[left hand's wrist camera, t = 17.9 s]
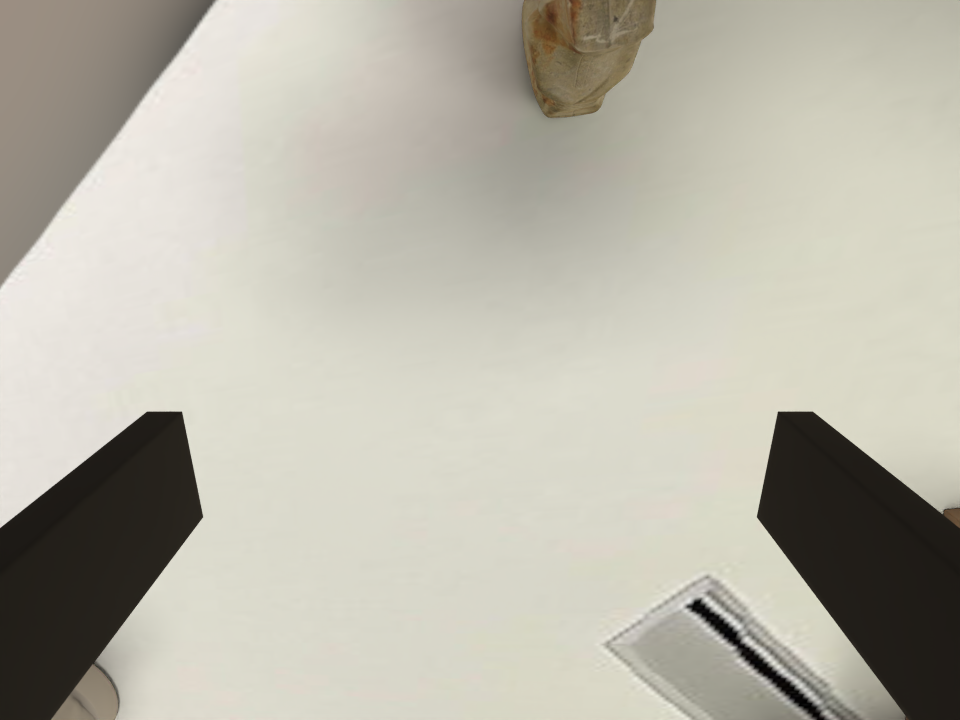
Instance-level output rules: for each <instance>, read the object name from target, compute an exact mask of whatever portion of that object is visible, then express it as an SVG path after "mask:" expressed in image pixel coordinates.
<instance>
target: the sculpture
mask: <svg viewBox="0 0 960 720" xmlns="http://www.w3.org/2000/svg"><path fill="white" fill-rule="evenodd" d="M655 5H656V0H524V4H523V10H522V31H523V43H524V49H525V54H526V60H527V65H528V70H529V75H530V79H531V83H532V87H533V91H534V94H535V97H536V99H537V102H538V104H539V106H540V108H541V110H542V112H543V113H544V114H545V116H547V117H550V118H557V117H571V116H578V115H584V114H590V113H594V112H596V111H597V110H598V109H599V108H600V107H601V105H602V102H603V99H604V96H605V93H607V92H608V91H609V90H610V89H611V88H612V87H614V86H615V85H616V84H617V83H618V82H620V81H621V80H622V79H623V78H624V77H625V76H626V75H627V74H628V73H629V71H630V69H631V68H632V65H633V63H634V60H635V57H636V54H637V52H638V49H639V46H640V43H641V40H642V39H644V38H645V37H646V36H648V35H649V34H650V33H651V32H652V30H653V28H654V25H653V21H654V13H655Z"/></svg>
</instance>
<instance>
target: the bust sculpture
mask: <svg viewBox="0 0 960 720" xmlns="http://www.w3.org/2000/svg"><path fill="white" fill-rule="evenodd" d="M117 711H118V699H117V695H116V692H115V690H114V687H113V686H112V684H111V682H110V681H109V679H108V678H107V677H106V676H105V675H104V674H103V673H102V672H101V671H100V670H99V669H98V668H97V667H96V666H95V665H92V666H91V667H90V669H89V670H88V671H87V673H86V674H85V675H84V677H83V678H82V679H81V680H80V682H79V683H78V684H77V686H76V687H75V688H74V690H73V691H72V692H71V694H70V695H69V696H68V698H67V699H66V700H65V702H64V703H63V704H62V706H61V707H60V708H59V710H58V711H57V712H56V714H55V715H54V716H53V718H52V719H51V720H115V718H116V715H117Z"/></svg>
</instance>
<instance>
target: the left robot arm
mask: <svg viewBox="0 0 960 720" xmlns="http://www.w3.org/2000/svg"><path fill="white" fill-rule="evenodd" d="M202 518H203V514H202V509H201V504H200V499H199V494H198V489H197V484H196V479H195V474H194V469H193V464H192V459H191V454H190V449H189V444H188V439H187V434H186V429H185V424H184V419H183V414H182V412H146V413H145V414H144V415H142V416H141V417H140V418H139V419H137V420H136V421H135V422H134V423H132V424H131V425H130V426H128V427H127V428H126V429H125V430H123V431H122V432H121V433H120V434H118V435H117V436H116V437H115V438H113V439H112V440H111V441H110V442H108V443H107V444H106V445H104V446H103V447H102V448H101V449H99V450H98V451H97V452H96V453H94V454H93V455H92V456H91V457H89V458H88V459H87V460H86V461H84V462H83V463H82V464H81V465H79V466H78V467H77V468H75V469H74V470H73V471H72V472H70V473H69V474H68V475H67V476H65V477H64V478H63V479H62V480H60V481H59V482H58V483H57V484H55V485H54V486H53V487H51V488H50V489H49V490H48V491H46V492H45V493H44V494H43V495H41V496H40V497H39V498H38V499H36V500H35V501H34V502H33V503H31V504H30V505H29V506H28V507H26V508H25V509H24V510H22V511H21V512H20V513H19V514H17V515H16V516H15V517H14V518H12V519H11V520H10V521H9V522H7V523H6V524H5V525H4V526H2V527H1V528H0V720H51V719H52V718H53V716H54V715H55V714H56V712H57V711H58V710H59V708H60V707H61V706H62V704H63V703H64V702H65V700H66V699H67V698H68V696H69V695H70V694H71V692H72V691H73V690H74V688H75V687H76V686H77V684H78V683H79V682H80V680H81V679H82V678H83V677H84V675H85V674H86V673H87V671H88V670H89V669H90V667H91V666H92V665H93V663H94V662H95V661H96V659H97V658H98V657H99V655H100V654H101V653H102V651H103V650H104V649H105V647H106V646H107V645H108V643H109V642H110V641H111V639H112V638H113V637H114V635H115V634H116V633H117V631H118V630H119V629H120V627H121V626H122V625H123V623H124V622H125V621H126V619H127V618H128V617H129V615H130V614H131V613H132V611H133V610H134V609H135V607H136V606H137V605H138V603H139V602H140V601H141V599H142V598H143V597H144V595H145V594H146V593H147V591H148V590H149V589H150V587H151V586H152V585H153V583H154V582H155V581H156V579H157V578H158V577H159V575H160V574H161V573H162V571H163V570H164V569H165V567H166V566H167V565H168V563H169V562H170V561H171V559H172V558H173V557H174V555H175V554H176V553H177V551H178V550H179V549H180V547H181V546H182V545H183V543H184V542H185V541H186V539H187V538H188V537H189V535H190V534H191V533H192V531H193V530H194V529H195V527H196V526H197V525H198V523H199V522H200V521H201V519H202ZM757 518H758V519H759V521H760V522H761V523H762V525H763V526H764V527H765V529H766V530H767V531H768V533H769V534H770V535H771V537H772V538H773V539H774V541H775V542H776V543H777V545H778V546H779V547H780V549H781V550H782V551H783V553H784V554H785V555H786V557H787V558H788V559H789V561H790V562H791V563H792V565H793V566H794V567H795V569H796V570H797V571H798V573H799V574H800V575H801V577H802V578H803V579H804V581H805V582H806V583H807V585H808V586H809V587H810V589H811V590H812V591H813V593H814V594H815V595H816V597H817V598H818V599H819V601H820V602H821V603H822V605H823V606H824V607H825V609H826V610H827V611H828V613H829V614H830V615H831V617H832V618H833V619H834V621H835V622H836V623H837V625H838V626H839V627H840V629H841V630H842V631H843V633H844V634H845V635H846V637H847V638H848V639H849V641H850V642H851V643H852V645H853V646H854V647H855V649H856V650H857V651H858V653H859V654H860V655H861V657H862V658H863V659H864V661H865V662H866V663H867V665H868V666H869V667H870V669H871V670H872V671H873V673H874V674H875V675H876V677H877V678H878V679H879V680H880V682H881V683H882V684H883V686H884V687H885V688H886V690H887V691H888V692H889V694H890V695H891V696H892V698H893V699H894V700H895V702H896V703H897V704H898V706H899V707H900V708H901V710H902V711H903V712H904V714H905V715H906V716H907V718H908V719H909V720H960V528H959V527H958V526H956V525H955V524H954V523H953V522H951V521H950V520H949V519H948V518H946V517H945V516H944V515H943V514H941V513H940V512H939V511H938V510H936V509H935V508H934V507H932V506H931V505H930V504H929V503H927V502H926V501H925V500H924V499H922V498H921V497H920V496H919V495H917V494H916V493H915V492H914V491H912V490H911V489H910V488H909V487H907V486H906V485H905V484H903V483H902V482H901V481H900V480H898V479H897V478H896V477H895V476H893V475H892V474H891V473H890V472H888V471H887V470H886V469H885V468H883V467H882V466H881V465H879V464H878V463H877V462H876V461H874V460H873V459H872V458H871V457H869V456H868V455H867V454H866V453H864V452H863V451H862V450H861V449H859V448H858V447H857V446H855V445H854V444H853V443H852V442H850V441H849V440H848V439H847V438H845V437H844V436H843V435H842V434H840V433H839V432H838V431H837V430H835V429H834V428H833V427H832V426H830V425H829V424H828V423H826V422H825V421H824V420H823V419H821V418H820V417H819V416H818V415H816V414H815V413H814V412H778V414H777V419H776V424H775V429H774V434H773V439H772V444H771V449H770V454H769V459H768V464H767V469H766V474H765V479H764V484H763V489H762V494H761V499H760V504H759V509H758V514H757Z"/></svg>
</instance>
